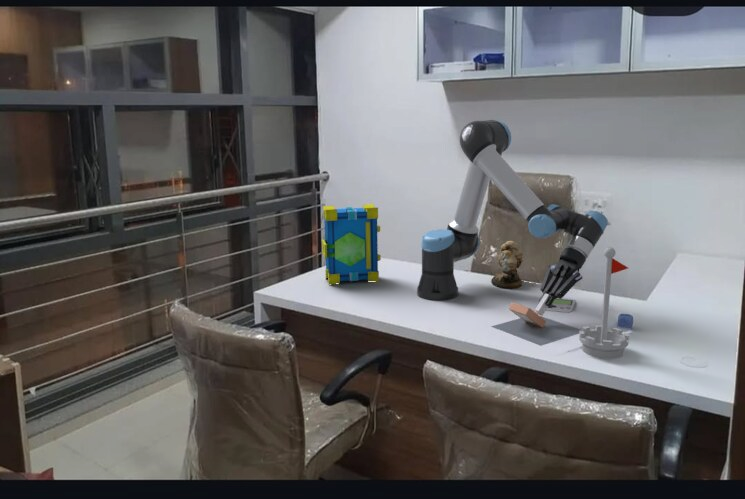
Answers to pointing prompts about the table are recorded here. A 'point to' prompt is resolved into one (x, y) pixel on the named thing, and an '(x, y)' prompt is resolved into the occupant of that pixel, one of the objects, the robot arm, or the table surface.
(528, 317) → the card deck
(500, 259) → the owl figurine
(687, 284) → the table surface
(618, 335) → the flag stand
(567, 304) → the handheld gaming console
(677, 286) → the table surface
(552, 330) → the mat
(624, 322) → the decorative dice
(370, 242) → the decorative book
